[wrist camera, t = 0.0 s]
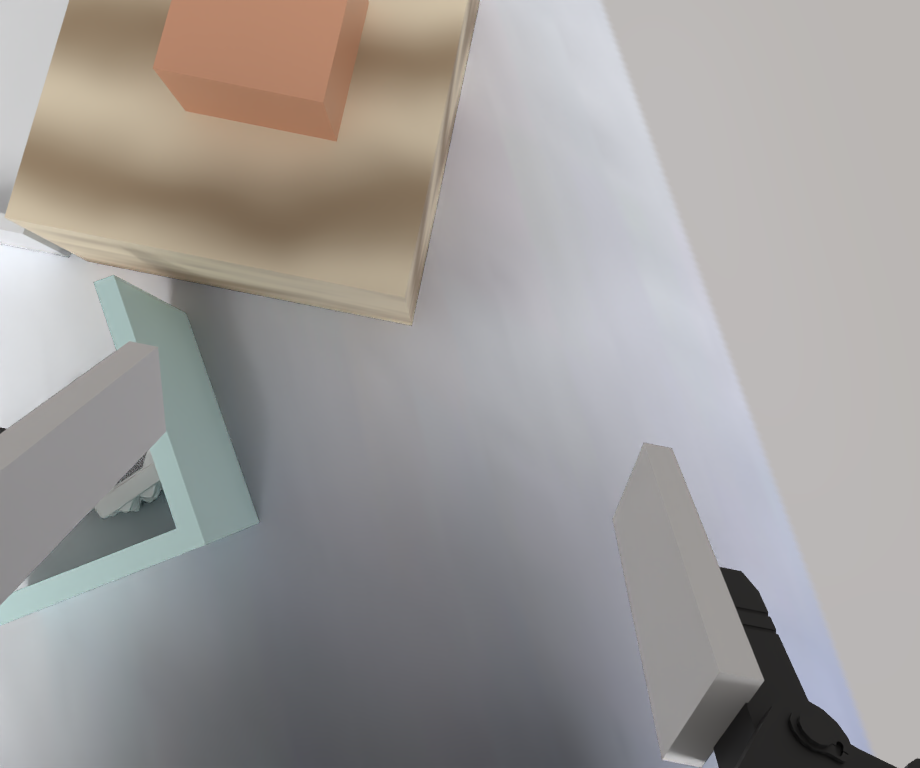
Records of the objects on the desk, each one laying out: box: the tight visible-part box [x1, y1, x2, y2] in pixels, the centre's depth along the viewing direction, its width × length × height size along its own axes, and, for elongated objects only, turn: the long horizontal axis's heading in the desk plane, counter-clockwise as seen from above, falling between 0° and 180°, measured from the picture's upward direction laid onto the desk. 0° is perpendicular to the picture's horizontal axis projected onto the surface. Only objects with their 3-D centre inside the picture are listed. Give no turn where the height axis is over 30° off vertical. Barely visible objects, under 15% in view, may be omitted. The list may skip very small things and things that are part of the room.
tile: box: [153, 0, 369, 142], centre depth 25 cm, size 7×7×3 cm
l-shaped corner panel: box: [0, 275, 260, 626], centre depth 27 cm, size 12×12×8 cm
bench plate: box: [4, 0, 480, 326], centre depth 30 cm, size 20×18×6 cm
